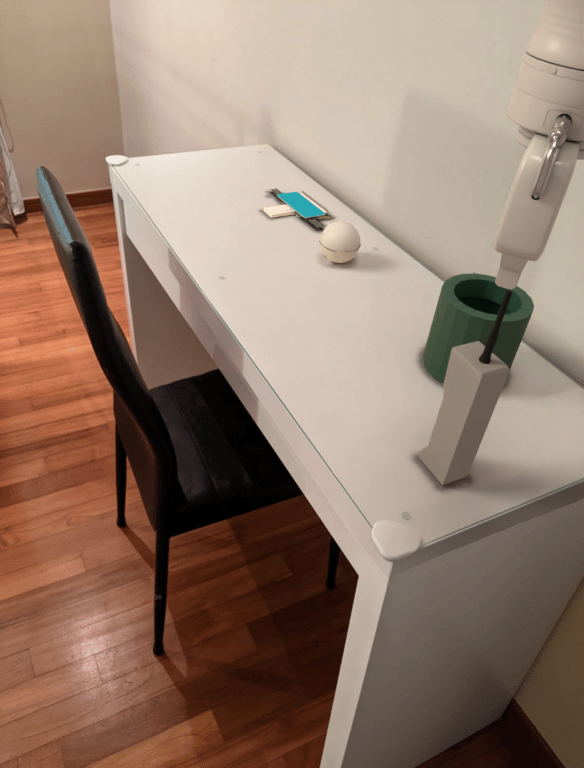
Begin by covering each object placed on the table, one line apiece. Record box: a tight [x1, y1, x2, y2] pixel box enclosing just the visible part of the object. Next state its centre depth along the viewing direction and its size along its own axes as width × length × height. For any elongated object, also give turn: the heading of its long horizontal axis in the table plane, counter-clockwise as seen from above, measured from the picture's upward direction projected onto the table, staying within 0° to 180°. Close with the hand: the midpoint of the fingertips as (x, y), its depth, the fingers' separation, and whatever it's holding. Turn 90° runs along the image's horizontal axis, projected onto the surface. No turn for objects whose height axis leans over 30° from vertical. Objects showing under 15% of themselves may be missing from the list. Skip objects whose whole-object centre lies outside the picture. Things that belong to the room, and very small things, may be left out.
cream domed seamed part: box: [319, 220, 364, 264], centre depth 109 cm, size 10×7×7 cm
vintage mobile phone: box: [417, 290, 512, 486], centre depth 65 cm, size 4×5×25 cm
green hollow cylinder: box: [422, 273, 535, 385], centre depth 86 cm, size 12×12×12 cm
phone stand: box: [262, 188, 332, 232], centre depth 127 cm, size 20×12×2 cm, turn 30°
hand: (513, 262), depth 56 cm, fingers open, 8 cm apart
